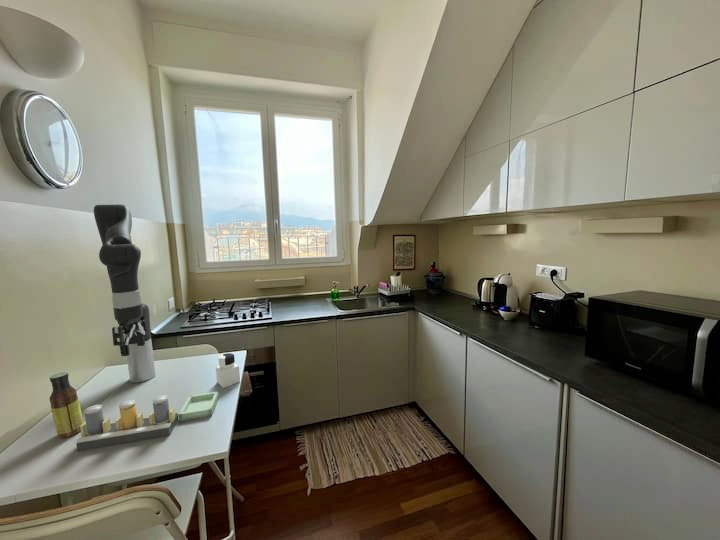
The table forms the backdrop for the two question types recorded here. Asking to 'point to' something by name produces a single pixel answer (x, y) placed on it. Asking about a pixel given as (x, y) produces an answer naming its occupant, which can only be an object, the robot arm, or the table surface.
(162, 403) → the cylinder
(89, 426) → the dome-capped grey cylinder
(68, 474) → the table surface
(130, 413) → the cylinder
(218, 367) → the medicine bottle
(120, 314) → the robot arm
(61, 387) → the sauce bottle
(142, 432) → the fuse block
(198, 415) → the tray
